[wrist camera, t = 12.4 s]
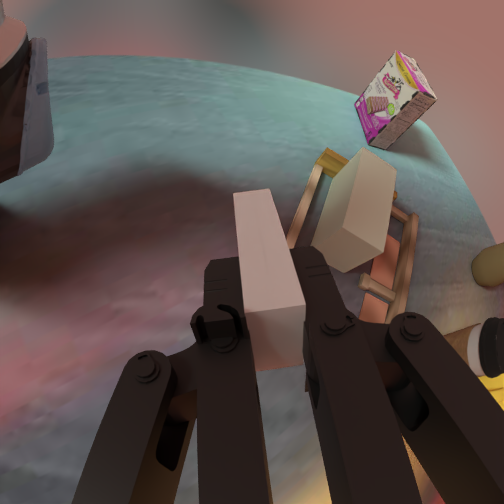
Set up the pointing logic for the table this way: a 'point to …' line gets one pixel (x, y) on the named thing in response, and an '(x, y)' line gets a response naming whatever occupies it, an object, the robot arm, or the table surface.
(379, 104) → the candy bar box
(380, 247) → the brick
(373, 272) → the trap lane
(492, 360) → the coffee cup
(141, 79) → the table surface
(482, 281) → the squeeze bottle
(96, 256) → the table surface
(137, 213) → the table surface
